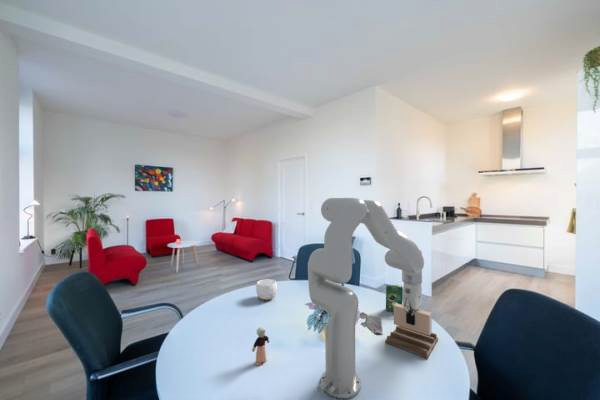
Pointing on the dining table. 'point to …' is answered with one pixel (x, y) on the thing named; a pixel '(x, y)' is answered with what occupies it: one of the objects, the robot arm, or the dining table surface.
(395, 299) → the coffee box
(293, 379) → the dining table surface
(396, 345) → the rack
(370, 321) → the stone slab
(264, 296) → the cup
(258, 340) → the grandmother figurine
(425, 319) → the tan flat block
